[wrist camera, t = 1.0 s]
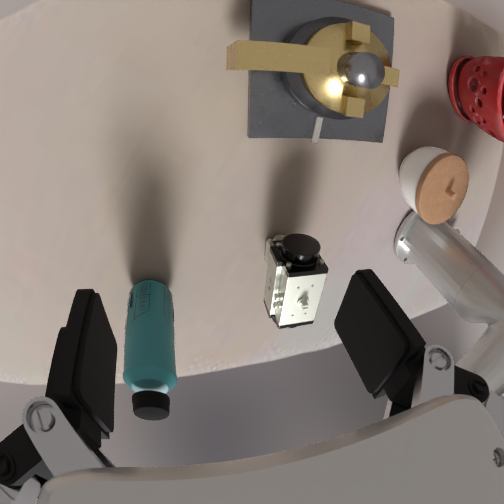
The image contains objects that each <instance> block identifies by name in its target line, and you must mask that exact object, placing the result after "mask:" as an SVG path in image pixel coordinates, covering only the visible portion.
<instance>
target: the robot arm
mask: <svg viewBox="0 0 504 504" xmlns="http://www.w3.org/2000/svg"><path fill="white" fill-rule="evenodd" d="M394 251H395V254H396V256H397V258H398V259H399V260H400V261H401V262H402V263H405V264H415V265H416V266H417V267H418V268H419V269H420V270H421V272H422V273H423V274H424V275H425V276H426V277H427V278H428V279H429V281H430V282H431V283H432V284H433V285H434V286H435V288H436V289H437V290H438V291H439V292H440V293H441V295H442V296H443V297H444V298H445V299H446V301H447V302H448V303H449V304H450V305H451V307H452V308H453V309H454V310H455V311H456V313H457V314H458V315H459V316H460V317H461V318H462V319H464V320H465V321H468V322H472V323H487V324H488V328H487V330H486V331H485V332H484V333H483V335H482V336H481V337H480V339H479V340H478V341H477V342H476V343H475V344H474V345H473V346H472V347H471V348H470V349H469V350H468V351H467V353H466V354H465V355H464V356H463V357H462V358H461V359H460V360H459V361H458V362H457V364H456V365H454V360H453V357H452V355H451V354H450V352H449V351H448V350H447V349H445V348H444V347H442V346H439V345H431V346H429V347H428V348H427V349H425V347H424V346H425V344H426V342H425V341H424V339H423V338H422V337H421V335H420V334H419V332H418V331H417V329H416V328H415V327H414V325H413V324H412V322H411V321H410V319H409V318H408V317H407V315H406V314H405V313H404V311H403V310H402V308H401V307H400V306H399V304H398V303H397V302H396V300H395V299H394V298H393V296H392V295H391V294H390V292H389V291H388V290H387V288H386V287H385V286H384V285H383V283H382V282H381V281H380V279H379V278H378V277H377V276H376V274H375V273H374V272H373V271H372V270H371V269H365V270H357V271H356V272H355V274H354V275H352V277H351V280H350V283H349V285H348V288H347V291H346V293H345V296H344V298H343V301H342V304H341V306H340V309H339V311H338V314H337V316H336V319H335V322H334V325H335V329H336V331H337V333H338V335H339V337H340V338H341V340H342V342H343V344H344V346H345V348H346V350H347V352H348V354H349V356H350V357H351V360H352V361H353V363H354V365H355V367H356V369H357V371H358V373H359V375H360V377H361V379H362V381H363V383H364V385H365V387H366V389H367V391H368V392H369V393H372V395H373V397H374V399H376V398H379V397H381V396H384V395H385V394H387V396H388V403H387V407H386V411H385V415H384V419H383V420H382V421H379V422H377V423H374V424H372V425H369V426H366V427H364V428H361V429H358V430H355V431H352V432H350V433H347V434H344V435H340V436H337V437H334V438H331V439H328V440H324V441H321V442H318V443H314V444H310V445H307V446H303V447H300V448H295V449H291V450H287V451H282V452H278V453H273V454H268V455H263V456H258V457H252V458H246V459H240V460H233V461H227V462H218V463H209V464H199V465H186V466H170V467H169V466H168V467H115V465H114V464H113V463H112V462H111V461H110V460H109V459H108V458H107V456H106V455H105V454H104V453H103V452H102V450H101V449H100V447H101V439H109V432H113V429H114V393H115V374H116V360H117V343H116V340H115V337H114V335H113V332H112V329H111V327H110V324H109V321H108V318H107V315H106V313H105V310H104V307H103V304H102V301H101V298H100V295H99V293H95V292H94V290H93V289H78V290H77V291H76V294H75V297H74V300H73V304H72V307H71V311H70V314H69V318H68V321H67V325H66V327H62V328H61V329H60V331H59V334H58V338H57V341H56V346H55V350H54V354H53V358H52V363H51V368H50V372H49V378H48V383H47V389H46V394H45V397H43V396H41V397H35V398H33V399H31V400H30V401H29V402H28V403H27V404H26V406H25V408H24V410H23V414H22V421H23V424H22V425H21V426H19V427H18V428H17V429H16V430H15V431H13V432H12V433H11V434H10V435H9V436H7V437H6V438H5V439H4V440H3V441H1V442H0V504H34V503H35V500H36V499H37V498H38V502H37V504H504V396H503V395H502V394H503V393H504V275H503V274H502V273H501V272H500V271H499V270H498V269H497V268H496V267H495V266H494V265H493V264H492V263H491V262H490V261H489V260H488V259H487V258H486V257H485V256H484V255H482V253H481V252H479V250H477V249H476V248H475V247H474V246H473V245H472V244H471V243H470V242H469V241H468V240H466V239H465V238H464V237H463V236H462V235H461V234H460V231H459V230H458V229H454V228H453V227H452V226H450V225H449V224H448V223H447V220H446V221H444V222H442V223H440V224H429V223H427V222H426V221H424V220H423V219H422V218H421V217H420V216H419V215H418V214H417V213H416V212H415V211H414V210H413V211H412V212H411V213H410V214H409V215H408V216H407V217H406V218H405V220H404V221H403V223H402V224H401V226H400V228H399V230H398V232H397V234H396V237H395V242H394Z"/></svg>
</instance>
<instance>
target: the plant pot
mask: <svg viewBox="0 0 504 504" xmlns="http://www.w3.org/2000/svg"><path fill="white" fill-rule="evenodd" d="M448 89H449V96H450V99H451V103H452V105H453V107H454V109H455V111H456V112H457V114H458V115H459V116H460V117H461V118H462V119H463V120H465V121H467V122H469V123H475V124H476V125H477V126H478V127H479V128H480V129H482V130H483V131H484V132H486V133H488V134H489V135H491V136H492V137H494V138H496V139H498V140H500V141H502V142H504V119H503V116H504V57H491V56H483V57H478V58H474V57H472V56H463V57H461V58H459V59H458V60H457V61H456V62H455V63H454V64H453V66H452V68H451V71H450V74H449V81H448Z"/></svg>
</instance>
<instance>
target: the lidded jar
mask: <svg viewBox="0 0 504 504" xmlns="http://www.w3.org/2000/svg"><path fill="white" fill-rule="evenodd" d="M468 182H469V174H468V168H467V166H466V163H465V162H464V160H463V159H462V158H461V157H459V156H458V155H456V154H453V153H450V152H448V151H446V150H444V149H441V148H437V147H430V146H428V147H421V148H418V149H416V150H414V151H413V152H411V153H409V154H408V155H407V156H406V157H405V158H404V159H403V161H402V163H401V165H400V169H399V184H400V189H401V192H402V194H403V197H404V199H405V200H406V202H407V203H408V204H409V206H410V207H411V208H412V209H413V210H414V211H415V212H416V213H417V214H418V215H419V216H420V217H421V218H422V219H423V220H424V221H426V222H427V223H429V224H440V223H442V222H444V221H446V220H448V219H449V218H450V217H451V216H453V215H454V214H455V212H456V211H457V210H458V208H459V207H460V206H461V204H462V202H463V200H464V198H465V195H466V192H467V188H468Z"/></svg>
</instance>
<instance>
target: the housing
mask: <svg viewBox="0 0 504 504" xmlns="http://www.w3.org/2000/svg"><path fill="white" fill-rule="evenodd" d="M350 21H355V22H358V23H362V24H366V25H369V26H370V32H372V33H373V34H374V35H375V36H376V37H377V38H378V39H379V40H380V41H381V42H382V44H383V45H384V47H385V49H386V50H387V53H388V55H389V58H390V61H391V67H392V55H393V37H394V18H393V17H390V16H387V15H385V14H382V13H379V12H376V11H373V10H370V9H366V8H363V7H360V6H356V5H353V4H349V3H345V2H341V1H337V0H251V7H250V41H266V42H279V43H290V44H299V45H303V44H304V42H305V40H306V39H307V38H308V37H309V36H310V35H311V34H312V33H313V32H314V31H316V30H317V29H319V28H322V27H324V26H328V25H333V24H338V23H346V22H350ZM389 90H390V88H389ZM389 90H388V93H387V95H386V96H385V98H384V99H383V101H382V102H381V103H380V104H379V105H378V106H377V107H375V108H374V109H373V110H371V111H369V112H366V113H364V114H363V118H358V117H349V116H344V115H342V114H340V113H339V112H336V111H333V110H330V109H328V108H326V107H324V106H322V105H320V104H319V103H318V102H316V101H315V100H314V99H313V98H312V97H311V96H310V95H309V93H308V92H307V90H306V89H305V87H304V85H303V83H302V80H301V77H300V74H299V73H294V72H280V71H259V70H249V87H248V137H249V138H311V142H313V143H318V140H319V138H322V139H341V140H356V141H369V142H379V143H382V142H383V136H384V129H385V122H386V115H387V107H388V99H389Z"/></svg>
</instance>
